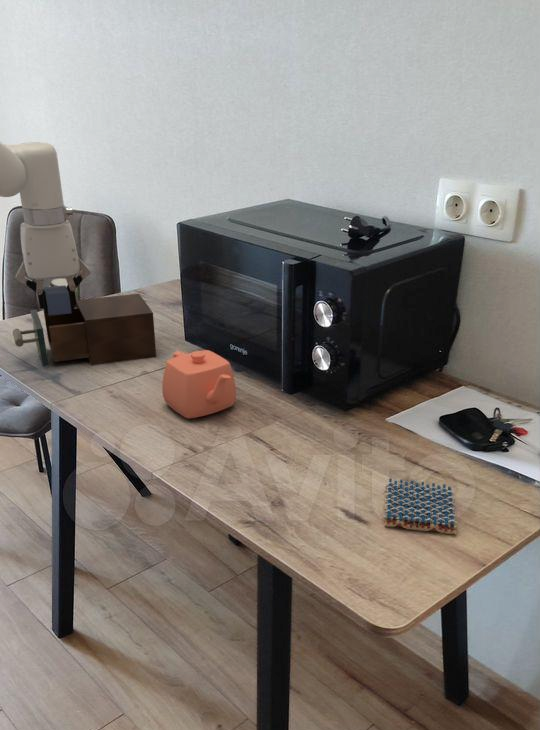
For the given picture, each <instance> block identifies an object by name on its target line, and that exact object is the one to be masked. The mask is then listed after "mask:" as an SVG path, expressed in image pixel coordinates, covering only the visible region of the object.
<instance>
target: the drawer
mask: <svg viewBox="0 0 540 730" xmlns="http://www.w3.org/2000/svg"><path fill="white" fill-rule="evenodd" d="M29 311H30V317H31V322H32V327H33V329H25V330H21V329H18V328H14V329H13V330H12V336H13V340H14V344H15V346H16V347H21V348H22V347H23V346H24V344H31V343H35V344H36V349H37V353H38V355H39V358H40V362H41V365H42V367H47V366H48V367H49V366H50V364H49V357H48V352H47V346H46V339H45V334H44V333H45V332H44V328H43V324H42V322H41V318H40V317H39V314H38V310H37V309H30V310H29ZM71 312H72V313H70V314H61V315H52V316H49V314H45V312H44V311H43V316H44V317H43V318H44V323H45V329H46V336H47V340H48V345H49V349H50V351H51V354H52V357H53V360H54V362H63V361H72V360H78V359H79V360H80V359H88V357H89V349H88V341H87V334H86V326H85V321H84V319H83V317H82V315H81V313H80V311H79V309H78V307H75V308H74V311H71ZM29 334H34V337H33V338H26V339H24V338H23V335H29Z"/></svg>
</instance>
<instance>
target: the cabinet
mask: <svg viewBox="0 0 540 730" xmlns="http://www.w3.org/2000/svg"><path fill="white" fill-rule="evenodd" d="M76 304H77V305H76V307H78V309H79V311H80V313H81V315H82V317H83V319H84V321H85V326H86V334H87V341H88V349H89V357H88V358H87V359H88V361H89V364H90V366H95V365H96V366H97V365H103V364H110V363H111V364H112V363H117V362H118V363H119V362H127V361H132V360H134V361H135V360H141V359H148V358H149V359H150V358H155V357H157V348H156V347H157V346H156V334H155V322H154V311H152V309H151V308H150V306H149V305H148V303H146V301H145V300H144V298H143V297H142V295H141V294H140V293H132V294H123V295H112V296H104V297H101V296H100V297H94V298H93V297H92V298H83V299H77V300H76Z"/></svg>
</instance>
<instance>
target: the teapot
mask: <svg viewBox="0 0 540 730" xmlns="http://www.w3.org/2000/svg"><path fill="white" fill-rule="evenodd" d="M235 380H236V379H235V376H234V372H233V368H232V366H231V362H229V361H228V360H227V359H225V358H224V357H222V356H221V355H219V354H217V353H215V352H214V351H212V350H209V349H203V350H196V351H192V352H189V353H184V352H183V351H181V350H176V351H174V352H173V353H172V358H170V359H168V360H166V361H165V366H164V370H163V375H162V386H161V387H162V389H161V390H162V392H161V393H162V397H163V399H164V401H165V403H166V405H167V406H168V407H170V408H171V409H172V410H174V411H175V412H176V413H177V414H179V415H181V416H182V417H184V418H186V419H196V418H199V417H204V416H208V415H212V414H215V413H218V412H220V411H223V410H226V409H229V408H230V407H232V406H233V405H234V404H235V401H236V398H237V387H236V381H235Z"/></svg>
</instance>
